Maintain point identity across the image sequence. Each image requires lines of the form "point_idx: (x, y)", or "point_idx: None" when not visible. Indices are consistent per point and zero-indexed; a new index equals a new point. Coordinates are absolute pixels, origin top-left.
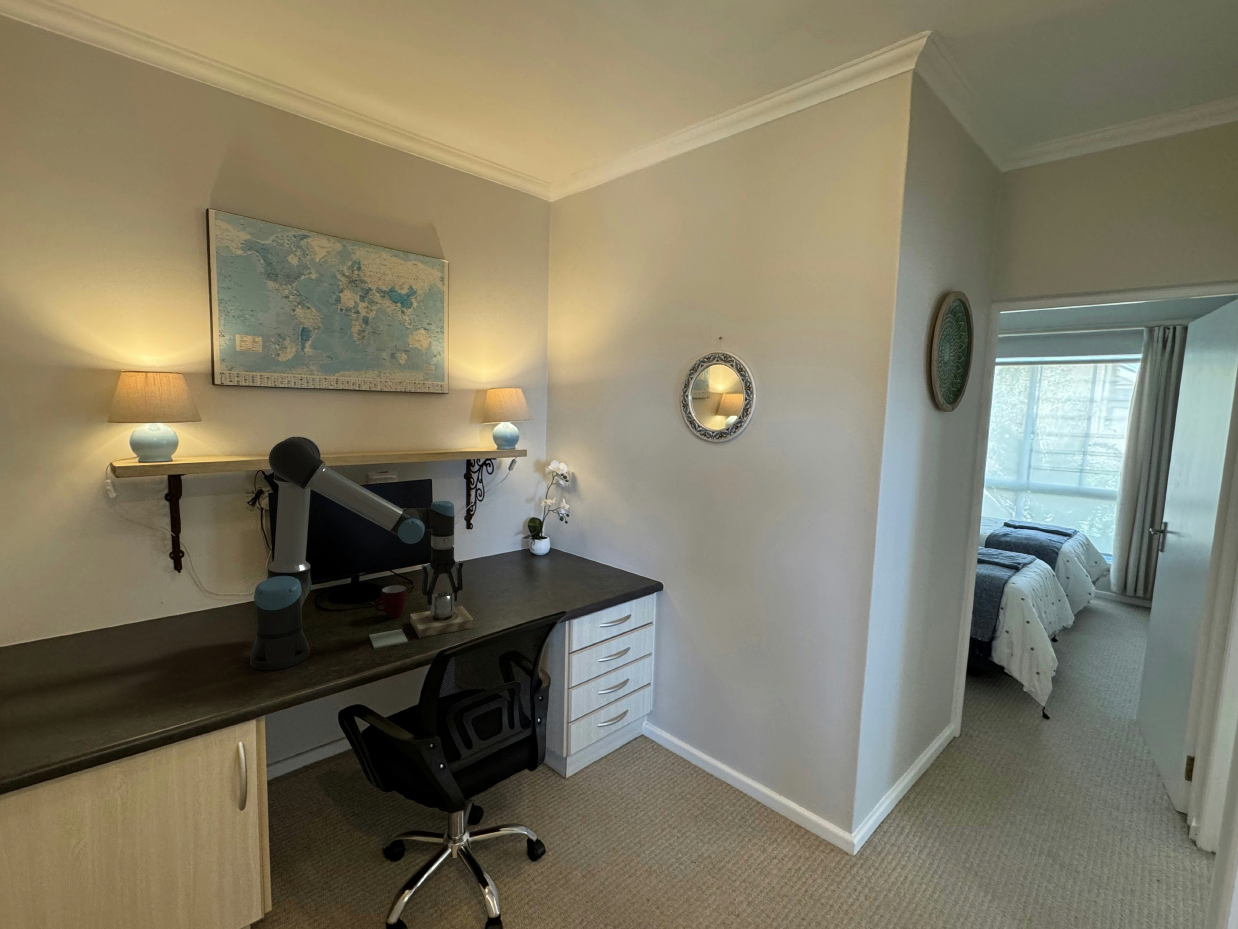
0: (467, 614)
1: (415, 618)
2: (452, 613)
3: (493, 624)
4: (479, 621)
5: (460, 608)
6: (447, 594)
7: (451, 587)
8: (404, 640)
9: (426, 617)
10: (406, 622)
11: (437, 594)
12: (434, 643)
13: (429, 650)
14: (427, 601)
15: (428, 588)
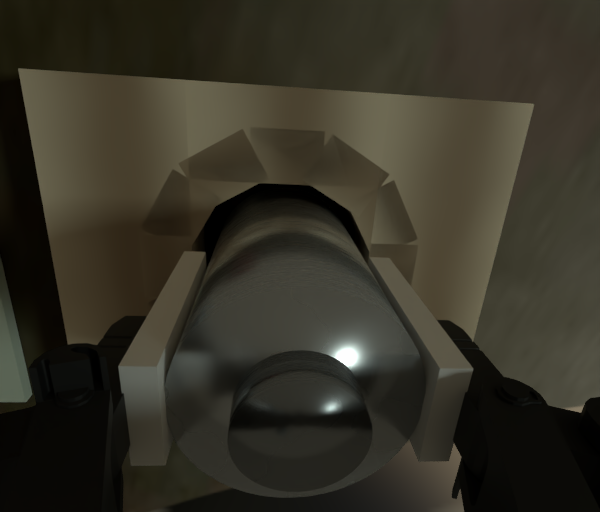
0: (468, 311)
1: (64, 207)
2: (382, 241)
3: (549, 368)
4: (513, 295)
5: (489, 162)
6: (369, 410)
7: (492, 431)
8: (6, 391)
9: (160, 229)
10: (31, 53)
11: (239, 360)
12: (176, 451)
13: (138, 503)
14: (104, 345)
15: (16, 480)
